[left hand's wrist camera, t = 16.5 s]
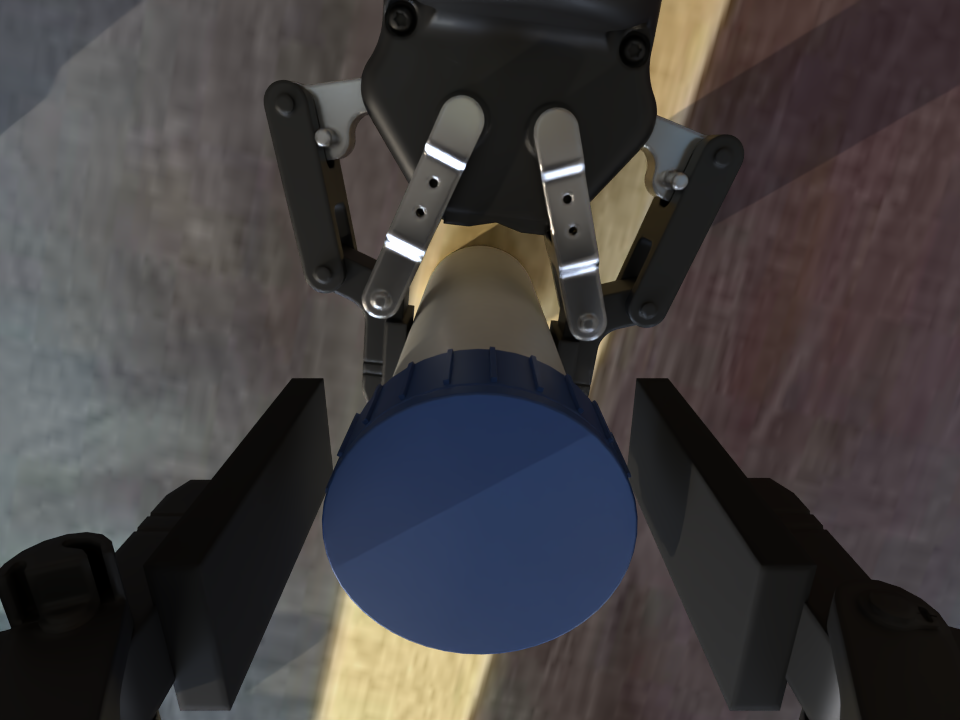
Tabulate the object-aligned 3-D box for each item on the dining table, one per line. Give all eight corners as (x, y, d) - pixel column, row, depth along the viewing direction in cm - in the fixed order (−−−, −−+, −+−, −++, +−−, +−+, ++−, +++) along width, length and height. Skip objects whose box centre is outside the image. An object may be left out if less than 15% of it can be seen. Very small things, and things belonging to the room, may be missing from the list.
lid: (420, 292, 11) (407, 326, 9) (669, 426, 12) (709, 485, 10) (301, 513, 13) (267, 585, 11) (526, 613, 14) (534, 696, 12)
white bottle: (552, 271, 25) (655, 453, 10) (507, 366, 27) (542, 642, 12) (449, 227, 25) (402, 357, 10) (409, 328, 26) (319, 570, 11)
